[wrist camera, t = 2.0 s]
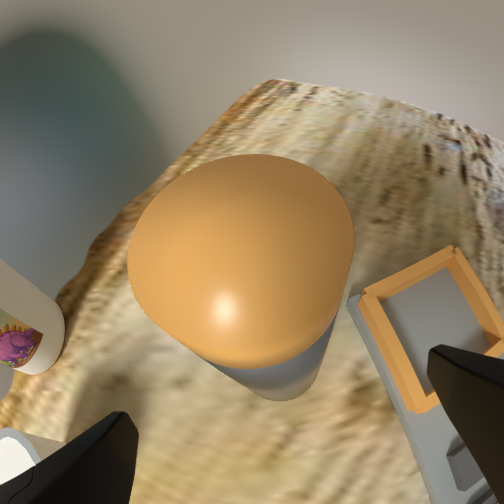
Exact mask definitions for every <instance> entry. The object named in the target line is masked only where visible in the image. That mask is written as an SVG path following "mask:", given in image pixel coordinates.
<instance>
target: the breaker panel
mask: <svg viewBox="0 0 504 504" xmlns="http://www.w3.org/2000/svg"><path fill="white" fill-rule="evenodd" d="M346 306H347V308H348V310H349V312H350V314H351V316H352V318H353V320H354V322H355V324H356V326H357V328H358V330H359V332H360V334H361V336H362V338H363V340H364V342H365V344H366V346H367V349H368V351H369V353H370V355H371V357H372V359H373V361H374V363H375V365H376V368H377V370H378V372H379V374H380V376H381V378H382V381H383V383H384V385H385V387H386V389H387V392H388V394H389V396H390V398H391V401H392V403H393V405H394V407H395V410H396V412H397V414H398V417H399V419H400V422H401V424H402V426H403V429H404V431H405V433H406V436H407V438H408V441H409V443H410V446H411V448H412V451H413V453H414V456H415V458H416V461H417V464H418V466H419V469H420V472H421V474H422V477H423V480H424V482H425V485H426V488H427V491H428V494H429V496H430V499H431V502H432V504H499V503H498V501H497V499H496V497H495V495H494V494H493V492H492V490H491V488H490V486H489V484H488V483H487V481H486V479H485V477H484V475H483V474H482V472H481V470H480V468H479V467H478V465H477V463H476V462H475V460H474V458H473V456H472V455H471V453H470V451H469V450H468V448H467V446H466V445H465V443H464V442H463V440H462V438H461V437H460V435H459V434H458V432H457V430H456V429H455V427H454V426H453V424H452V423H451V421H450V419H449V418H448V416H447V414H446V412H445V411H444V409H443V407H442V404H441V402H440V400H439V398H438V396H437V394H436V392H435V390H434V388H433V386H432V385H431V383H430V381H429V379H428V376H427V362H428V352H429V350H430V349H431V348H432V347H435V346H437V345H439V344H444V345H448V346H452V347H455V348H459V349H463V350H467V351H471V352H475V353H479V354H483V355H487V356H492V357H496V358H500V359H504V322H503V321H502V319H501V317H500V315H499V313H498V311H497V309H496V307H495V306H494V304H493V302H492V300H491V298H490V297H489V295H488V293H487V292H486V290H485V288H484V287H483V285H482V283H481V282H480V280H479V278H478V277H477V275H476V273H475V272H474V270H473V269H472V267H471V266H470V264H469V263H468V261H467V260H466V258H465V257H464V255H463V254H462V252H461V251H460V249H459V248H458V247H457V248H455V249H454V248H453V246H452V245H449V246H448V247H446V248H444V249H442V250H440V251H438V252H436V253H435V254H433V255H431V256H429V257H427V258H425V259H423V260H421V261H419V262H417V263H415V264H413V265H411V266H409V267H407V268H405V269H403V270H401V271H399V272H397V273H395V274H393V275H391V276H389V277H387V278H385V279H382V280H380V281H378V282H376V283H374V284H372V285H370V286H367V287H365V288H364V290H363V292H362V293H359V294H357V295H355V296H353V297H351V298H349V299H348V302H347V305H346Z"/></svg>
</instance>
